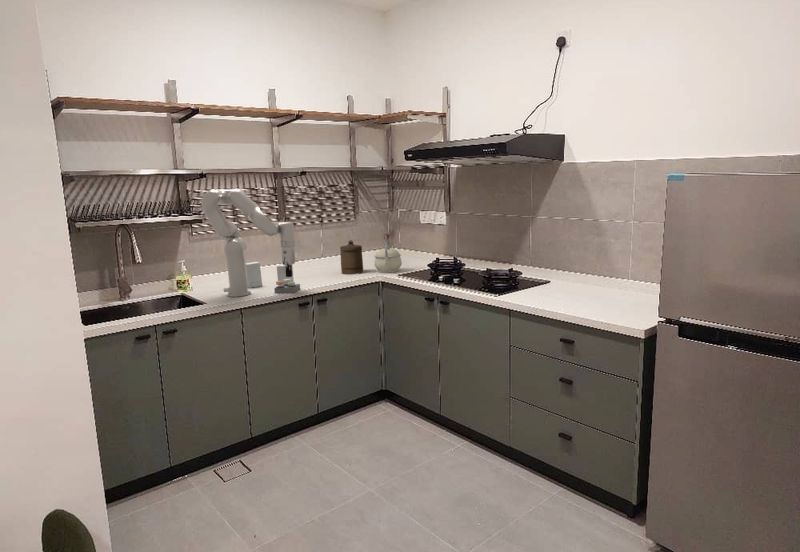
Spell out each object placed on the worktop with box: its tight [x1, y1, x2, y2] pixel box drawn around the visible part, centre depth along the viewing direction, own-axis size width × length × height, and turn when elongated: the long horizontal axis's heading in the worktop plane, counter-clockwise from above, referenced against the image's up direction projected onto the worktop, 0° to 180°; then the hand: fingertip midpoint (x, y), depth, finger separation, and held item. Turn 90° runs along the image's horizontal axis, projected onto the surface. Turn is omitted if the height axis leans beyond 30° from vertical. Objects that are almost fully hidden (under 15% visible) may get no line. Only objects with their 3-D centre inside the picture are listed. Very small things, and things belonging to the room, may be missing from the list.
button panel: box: [273, 283, 301, 294], centre depth 298 cm, size 11×12×3 cm
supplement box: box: [276, 264, 295, 286], centre depth 316 cm, size 7×7×13 cm
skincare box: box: [245, 261, 263, 289], centre depth 318 cm, size 8×6×15 cm
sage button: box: [288, 281, 296, 286], centre depth 295 cm, size 4×4×2 cm
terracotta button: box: [275, 280, 283, 286], centre depth 294 cm, size 4×4×2 cm
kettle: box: [374, 233, 403, 274], centre depth 350 cm, size 25×18×25 cm
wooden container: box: [339, 239, 364, 275], centre depth 355 cm, size 15×15×22 cm
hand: (289, 276), depth 295 cm, fingers closed
